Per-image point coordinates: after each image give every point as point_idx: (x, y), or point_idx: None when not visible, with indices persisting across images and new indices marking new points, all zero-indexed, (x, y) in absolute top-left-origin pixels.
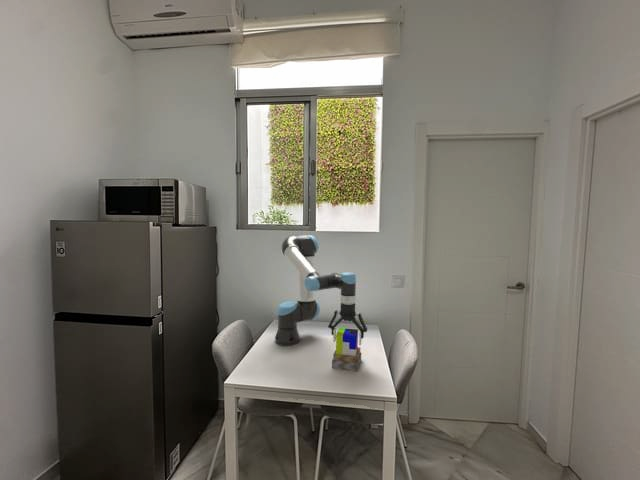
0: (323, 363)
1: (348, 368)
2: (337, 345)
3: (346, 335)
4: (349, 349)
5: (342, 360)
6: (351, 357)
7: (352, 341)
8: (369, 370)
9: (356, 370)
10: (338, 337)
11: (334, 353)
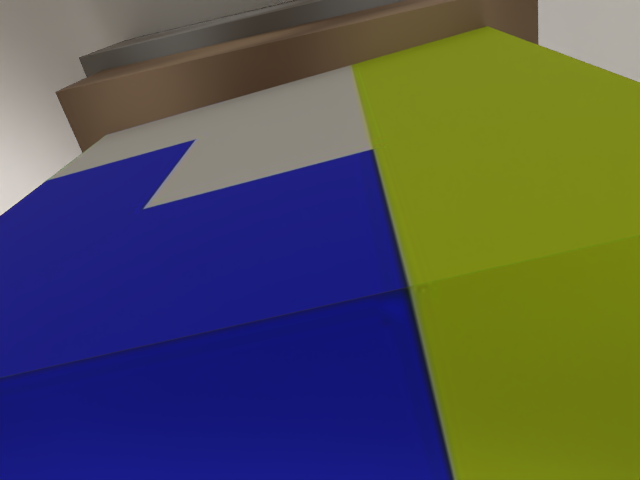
0: (634, 22)
1: (237, 15)
2: (518, 66)
3: (205, 380)
4: (189, 138)
5: (333, 19)
6: (158, 65)
7: (10, 259)
8: (25, 147)
9: (131, 39)
10: (620, 161)
11: (523, 32)
